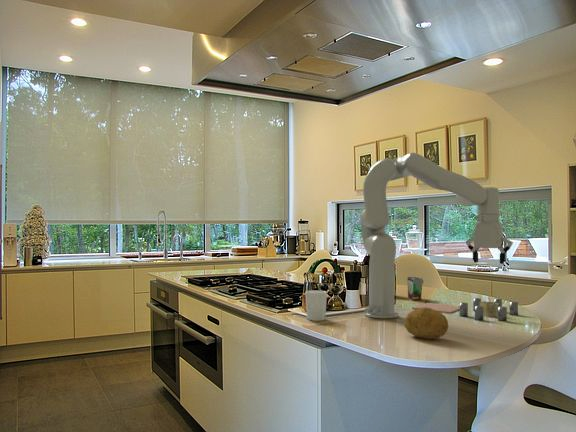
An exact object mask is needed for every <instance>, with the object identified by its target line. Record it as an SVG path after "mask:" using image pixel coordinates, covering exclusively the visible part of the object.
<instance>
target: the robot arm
mask: <svg viewBox="0 0 576 432" xmlns="http://www.w3.org/2000/svg"><path fill="white" fill-rule="evenodd" d="M410 176H411V177H413V178H414V179H417V180H418V181H421V183H423V184H424V185H427V186H429V187H431V188H433V189H435V190H439V191H445V192H450V193H453V194H455V199H456V201H457V203H458V204H459V205H460V206H463V207H472V206H477V210H478V211H477V215H476V216H474V220H477V222H475V225H474V232H473V233H474V234H473V237H472V238H469V239H467V240H466V241H465V244H466V245H467V247H468V249H469V250H470V251H471V252H472V261H473V262H474V263H478V262H479V252H478V251H479V250H480V249H498V251H500V253H499V264H501V265H503V264H504V263H505V262H506V253H507V252H508V251H509V250H510V249H511V247H512V245H514V243H513V241H512V240H509V239H508V238H505V237H504V235H503V227H502V222H500V191H499V188H498V187H493V186H487V187H483V185H482V184H479V183H477V182H476V181H475V180H472V179H470V178H469V177H467V176H464V175H462V174H459V173H457V172H454V171H451V170H449V169H446V168H445V167H443V166H441V165H438V164H437V163H435V162H433V161H431V160H430V159H428V158H426V157H425V156H422V155H421V154H419V153H417V152H408V153H407V154H404V155H403V156H402V155H401V156H400V157H396V158H387V157H386V158H382V159H379V160H378V161H376V162H374V163H373V164H372V165H371V166H370V168H369V170H368V173H367V174H366V176H365V178H364V181H363V182H364V183H363V190H362V193H363V203H364V209H363V210H362V211H361V214H360V218H359V219H360V221H359V224H360V229H361V236H362V241H363V246H364V249H365V251H366V253H367V254H369V255H370V256H369V263H368V264H369V265H368V281H369V282H368V307H366V308H364V309H363V310H364V316H366V317H369V318H373V319H374V318H375V319H396V318H398V317H399V312H396V311H395V296H394V281H395V263H396V262H395V261H396V255H397V244H396V241H395V239H394V238H393V237H392V236H391V235H390V234H388V233H386V229H385V228H387V226H388V224H389V223H390V213H389V208H388V201H387V192H386V190H387V187H388V186H387V185H388V183H389V182H390V181H395V180H396V181H397V180H399V179H403V178H407V177H410ZM472 243H473V245H472ZM504 243H505V244H506V246H505V247H504Z"/></svg>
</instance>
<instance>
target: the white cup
mask: <svg viewBox="0 0 576 432" xmlns="http://www.w3.org/2000/svg"><path fill="white" fill-rule="evenodd" d="M327 293H328V291H325V290H314V289H313V290H305V307H306V308H305V311H306V320H309V321H315V322H316V321H317V322H319V321H325V320H326V312H327V298H328V297H327V296H328V294H327Z"/></svg>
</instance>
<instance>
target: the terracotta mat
mask: <svg viewBox="0 0 576 432" xmlns="http://www.w3.org/2000/svg"><path fill="white" fill-rule="evenodd" d="M424 307H426V308H431V309H433V310H436V311H438V312H440V313H441V314H443V313H444V314H453V313H456V312H458V311H460V305H459V306H458V305H448V304H440V303H430V302H426V303H423V304H419V305H416V306H412V307H411V308H412V309H413V310H416V309H420V308H424ZM412 309H411V310H412Z"/></svg>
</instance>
